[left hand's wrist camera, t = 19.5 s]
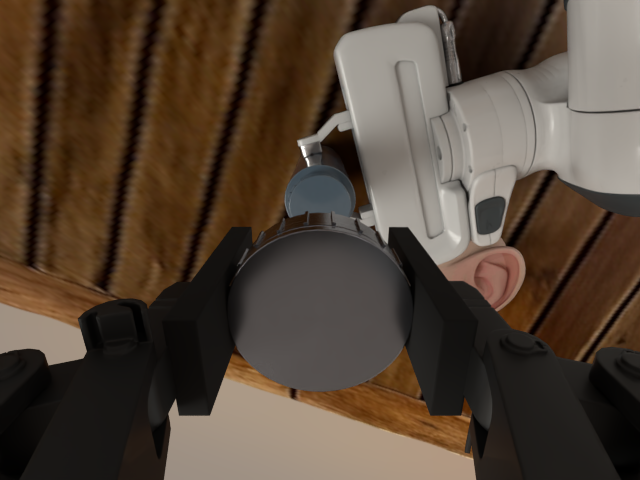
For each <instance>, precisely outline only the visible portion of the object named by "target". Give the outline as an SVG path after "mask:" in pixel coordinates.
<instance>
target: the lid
mask: <svg viewBox="0 0 640 480" xmlns="http://www.w3.org/2000/svg"><path fill="white" fill-rule="evenodd" d="M237 266H238V267H239V269H237V271H236V273H235V275H234V277H233V279H232V281H231V283H230V285H229V293H228V297H227V305H226V310H227V320H228V328H229V331H230V334H231V337H232V339H233V342H234V343H235V345H236V347H237V349H238V351H239V352H240V353H241V355H242V356H243V357H244V359H245V360H246V361H247V362H248V363H249V364H250V365H251V366H252V367H253V368H255V369H256V370H257V371H258V372H260V373H261V374H263V375H264V376H266V377H267V378H269V379H271V380H273V381H275V382H277V383H279V384H282V385H285V386H287V387H291V388H295V389H299V390H305V391H318V392H324V391H335V390H341V389H346V388H349V387H353V386H356V385H358V384H361V383H363V382H365V381H367V380H369V379H371V378H373V377H375V376H376V375H377V374H379V373H380V372H382V371H383V370H384V369H385V368H387V367H388V366H389V365H390V364H391V363H392V362H393V361H394V360H395V358H396V357H397V356H398V355H399V353H400V352H401V350H402V349H403V347H404V346H405V344H406V342H407V339H408V337H409V334H410V331H411V328H412V322H413V313H414V303H413V297H412V292H411V284H410V282H409V281H408V279H407V277H406V275H405V273H404V271H403V269H401V266H403V265H402V263H401V261H400V259H399V257H398V255H397V254H396V252H395V250H394V248H393V249H390V247H389V246H388V244H387V243H386V242H385V241H384V240H383V238H382V236H381V234H380V232H379V231H376V232H375V231H374V230H372V229H371V228H370V227H368V226H366V225H365V224H363V223H361V222H360V220H359V219H358V218H356V219H352V218H349V217H346V216H343V215H338V214H335V211H331V213H309V211H305V214H302V215H297V216H294V217H291V218H288V219H284V218H282V219H280V222H279V223H277V224H275V225H274V226H272V227H271V228H269V229H268V230H266V231H265V232H263V231H261V232H260V234H259V236H258V238H257V240H256V241H255V242H254V243H253V244H252V246H251V247H250V249H247V248H246V250H245V252H244V254H243V256H242V257H241V259H240V261H239V263H238V265H237Z"/></svg>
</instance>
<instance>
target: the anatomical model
mask: <svg viewBox="0 0 640 480" xmlns="http://www.w3.org/2000/svg"><path fill="white" fill-rule="evenodd" d="M437 266H438V267H439V269H440V270H441V271H442V273H443V274H444V275H445V277H446V278H447V279H448V281H464V282H466V283H468V284H469V285H471V286H473V287H475V288H476V289H477V290H478V291H479V292H480V293H481V294H482V295H483V297H484V298H485V300H487V301H488V302H489V303H490V305H491V307H493V308H494V309H495V310H496V311H499V310H500V309H502V308H503V307H504V306H506V305H507V304H508V303H509V302H510V301H511V300H512V299H513V298H514V297H515V295H516V294H517V292H518V291H519V289H520V287H521V285H522V283H523V280H524V277H525V262H524V259H523V256H522V254H521V253H520V252H519V251H518V250H517V249H515V248H513V247H509V246H506V245H505V243H504V241H503V239H502V238H501V237H500V239H499V240H498V241H497V242H496V243H494V244H491V245H487V246H478V245H476V244H475V243H473V242H472V241H470V243H469V245H468V247H467V249H466V250H465V251H464V252H463V253H462V254H461V255H459V256H458V257H456V258H455V259H452V260H450V261H448V262H445V263H443V264H440V265H437Z"/></svg>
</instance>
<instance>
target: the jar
mask: <svg viewBox="0 0 640 480" xmlns="http://www.w3.org/2000/svg"><path fill="white" fill-rule="evenodd" d="M321 147H322V152H321V153H318V154H311V155H310V156H308V157H304V158H302V155H301V157H300V158H299V161H298V163H297V165H296V168H295V170H294V172H293V175H292V177H291V179H290V181H289V184H288V186H287V189H286V192H285V207H286V210H287V213H288V215H289V217H290V218H291V217H294V216H297V215H302V214H305V211H309V213H331V211H335V214H338V215H343V216H346V217H349V218H350V217H351V215H352V213H353V211H354V207H355V191H354V188H353V186H352V183H351V181H350V179H349V176H348V174H347V172H346V169H345V167H344V165H343V162H342V160H341V158H340V156H339V155H338V153H337V152H336V151H335V150H333V149H332V148H330V147H327V146H323V145H321Z"/></svg>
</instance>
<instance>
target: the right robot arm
mask: <svg viewBox="0 0 640 480" xmlns="http://www.w3.org/2000/svg"><path fill="white" fill-rule="evenodd" d="M564 8H565V10H566V11H567V50H568V51H567V52H563V53H560V54H557V55H554V56H552V57H549V58H547V59H546V60H544V61H542V62H541V63H539V64H538V65H536V66H534V67H531V68H528V69H524V70H505V71H500V72H497V73H494V74H490V75H487V76H484V77H480V78H477V79H474V80H470V81H467V82H462V75H461V69H460V62H459V58H458V54H457V50H456V42H455V39H456V31H455V26H454V24H453V21H448V18H447V16H446V14H445V13H444V12H443V11H442V10H441V9H440V8H438V7H436V6H433V5H426V6H422V7H419V8H416V9H413V10H410V11H407V12H405V13H403V14H402V15H401V16H400V17H399V18H398V19H397V20H396V22H395V23H392V24H385V25H379V26H374V27H369V28H364V29H360V30H357V31H353V32H350V33H347V34H345V35H343V36H342V37H341V38H340V40H339V42H338V43H337V45H336V47H335V50H334V60H335V64H336V68H337V72H338V76H339V80H340V84H341V88H342V92H343V97H344V101H345V105H346V109H347V110H346V111H343V112H340V113H337V114H334V115H333V116H332V117H331V118H330V119H329V120H328V121H327V122H326V123H325V124H324V125H323V126H322V128H321V129H320V130H319V131H318V133H317V134H314V135H310V136H307V137H304V138H301V139H298V140H297V142H298V146H299V149H300V152H301V155H302V158H304V157H308V156H310V155H311V154H318V153H321V152H322V147H321V143H320V142H321V141H322V140H323V139H324V138H325V137H326V136H327V135H328V134H329V133H330V132H331V131H332V130H333V129H334V128H335V126H336V125H337V128H338V130H339V131H345V130H348V129H352V133H353V138H354V142H355V146H356V150H357V154H358V158H359V162H360V166H361V170H362V174H363V179H364V183H365V187H366V191H367V195H368V199H369V203H370V204H367V205H364V206H361V207H359V208H358V210H359V213H355V212H353V213H352V215H351V217H350V218H352V219H356V218H358V219H359V220H360V222H361V223H363V224H365V225H366V226H368V227H369V226H373V225H375V228H376V231H379V232H380V234H381V236H382V238H383V240H384V241H385V242H386V243H387V244H388V233H389V227H408V228H409V229H410V230H411V232H412V233H413V234H414V236H415V237H416V238H417V240H418V241H419V242H420V243H421V245H422V246H423V247H424V249H425V250H426V251H427V253H428V254H429V255H430V257H431V258H432V259H433V261H434V262H435V263H436V265H440V264H443V263H445V262H448V261H450V260H452V259H455V258H456V257H458V256H459V255H461V254H462V253H463V252H464V251H465V250H466V249H467V247H468V245H469V243H470V241H472V242H473V243H475V244H476V245H478V246H487V245H491V244H494V243H496V242H497V241H498V240H499V239H500V237H501V234H502V230H503V225H504V221H505V216H506V212H507V208H508V204H509V200H510V197H511V193H512V190H513V187H514V184H515V181H516V180H520V179H522V178H524V177H526V176H528V175H530V174H532V173H534V172H537V171H540V170H554V171H555V172H556V173H557V174H558V176H557V177H558V179H559V180H560V181H562V182H563V183H564V184H565V185H567V186H568V187H570V188H571V189H573V190H574V191H576V192H577V193H579V194H581V195H582V196H584V197H585V198H587V199H588V200H590V201H591V202H593V203H594V204H596V205H597V206H599V207H601V208H603V209H605V210H608V211H611V212H614V213H617V214H621V215H625V216H632V217H640V0H564ZM439 17H440V18H441V20H442V24H440V23H439ZM446 86H448V88H446Z"/></svg>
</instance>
